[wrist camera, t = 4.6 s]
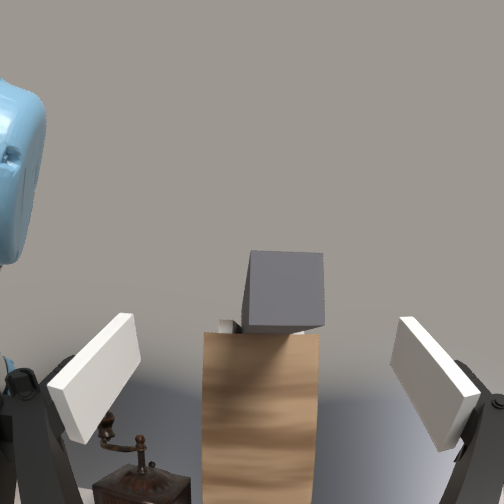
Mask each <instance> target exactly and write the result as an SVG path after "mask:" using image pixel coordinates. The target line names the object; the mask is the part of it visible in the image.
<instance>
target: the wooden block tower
mask: <svg viewBox="0 0 504 504" xmlns="http://www.w3.org/2000/svg"><path fill="white" fill-rule="evenodd" d="M241 330H242V327H241V326H239V325H238V324H237V323H236V322H235V321H233V320H219V333H205V332H204V347H203V381H202V495H203V504H311V496H312V486H313V473H314V460H315V446H316V427H317V404H318V370H319V368H318V367H319V334H304V331H302V332H298V333H294V334H241Z"/></svg>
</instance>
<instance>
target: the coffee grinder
mask: <svg viewBox="0 0 504 504" xmlns="http://www.w3.org/2000/svg"><path fill="white" fill-rule="evenodd" d="M114 420H115V416H114V414H113V412H112V411H110V410H108V411H107V413H106V414H105V416H104V417H103V419H102V420H101V422H100V423H99V425H98V426H97V428H98V430H99V434H98V437H99V438H101V441H100V444H101V447H102V448H103V449H107V450H111V451H119V452H132V451H137V452H138V465H137V466H135V465H131V464H127V465H125V466H123V467H121V468H120V469H118V470H116V471H114V472H113V473H111V474H109V475H108V476H106V477H104V478H102V479H101V480H99V481H98V482H96V483H95V484H93V485H92V489H93V495H94V501H95V504H191V483H190V481H191V479H190V477H186V476H180V475H175V474H171V473H169V472H167V471H164V470H161V469H157V468H154V467H155V463H154V462H152V461H151V462H150V463H149V467H147V466H145V454H144V450H146V449H147V447H146V445H145V444H144V442H145V438H144V436H143V435H137V436H136V438H135V440H136V442H137V444H136V445H135V446H129V447H128V446H117V445H110V444H107V441H109V440H110V439H111V438H112V437H114V436H115V433H114V432H113V430H112V425H113V422H114Z"/></svg>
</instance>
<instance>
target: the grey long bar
mask: <svg viewBox="0 0 504 504" xmlns="http://www.w3.org/2000/svg"><path fill="white" fill-rule="evenodd" d="M324 314H325V313H324V271H323V253H306V252H280V251H251V252H250V259H249V265H248V272H247V278H246V284H245V291H244V297H243V304H242V310H241V327H242V330H241V334H294V333H298V332H302V331H306V330H309V329H313V328H317V327H321V326H324V325H325V316H324Z"/></svg>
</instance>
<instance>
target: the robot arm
mask: <svg viewBox="0 0 504 504" xmlns="http://www.w3.org/2000/svg"><path fill="white" fill-rule="evenodd" d="M45 133H46V112H45V108H44V105H43V103H42V101H41V100H40V98H39V97H38V96H36V95H35V94H34V93H32V92H29V91H27V90H24V89H21V88H19V87H16V86H13V85H10V84H8V83H7V82H6V81H4V80H3V79H2V78H0V271H1V269H2V267H3V265H4V264H6V265H7V264H12V263H14V262H16V261H17V260H18V258H19V257H20V255H21V253H22V250H23V246H24V243H25V239H26V235H27V230H28V225H29V221H30V216H31V211H32V206H33V199H34V191H35V188H36V184H37V180H38V175H39V169H40V164H41V158H42V152H43V147H44V140H45ZM140 361H141V357H140V352H139V347H138V341H137V335H136V329H135V323H134V316H133V314H128V313H119V314H118V316H116V317H115V318H114V319H113V320H112V321H111V322H110V323H109V324H108V325H107V326H106V327H105V328H104V329H103V330H101V331H100V332H99V333H98V334H97V335H96V336H95V337H94V338H93V339H92V340H91V341H90V342H89V343H88V344H87V345H86V346H85V347H84V348H83V349H82V350H81V351H80V352H79V353H78V354H77V355H72V356H70V357H68V358H66V359H64V360H63V361H62V362H61V363H60V364H59V365H58V367H56V368H55V369H54V370H53V372H51V373H50V374H49V375H48V376H47V377H46V378H45V379H44V380H43V381H42V382H41V383H40V384H39V385H38V382H37V380H36V377H35V374H34V372H33V371H32V370H31V369H28V368H19V369H15V367H14V362H13V361H12V360H11V359H9V358H6V357H5V356H2V355H1V353H0V504H14V499H15V489H16V481H18V487H19V493H20V499H21V504H83V501H82V498H81V496H80V493H79V490H78V487H77V484H76V481H75V478H74V475H73V472H72V469H71V466H70V463H69V459H68V455H67V452H66V448H65V444H64V441H63V439H62V437H61V434H62V433H63V432H64V430H66V432H67V434H68V436H69V438H70V440H73V441H76V442H79V443H82V444H87V442H88V440H89V439H90V437H91V436H92V434H93V433H94V431H95V429H96V428H97V426H98V425H99V423H100V422H101V420H102V419H103V417H104V416H105V414H106V413H107V411H108V410H109V408H110V406H111V405H112V403H113V402H114V400H115V399H116V397H117V396H118V394H119V393H120V391H121V389H122V388H123V386H124V385H125V384H126V382H127V381H128V379H129V378H130V376H131V375H132V373H133V372H134V370H135V369H136V367H137V366H138V364H139V363H140ZM390 365H391V367H392V369H393V370H394V372H395V374H396V375H397V377H398V379H399V381H400V383H401V384H402V386H403V388H404V390H405V391H406V393H407V395H408V397H409V398H410V400H411V402H412V404H413V406H414V407H415V409H416V411H417V413H418V414H419V416H420V418H421V420H422V422H423V424H424V426H425V428H426V429H427V431H428V433H429V435H430V437H431V439H432V441H433V443H434V445H435V447H436V448H437V450H438V452H441V451H445V450H449V449H452V448H454V447H455V446H456V444H457V442H458V440H459V438H460V437H461V438H462V440H463V442H464V445H463V446H462V448H461V450H460V451H459V453H458V455H457V457H456V458H455V460H454V462H456V464H455V467H454V470H453V472H452V475H451V477H450V480H449V482H448V485H447V487H446V489H445V492H444V494H443V496H442V498H441V501H440V503H439V504H498V503H499V500H500V496H501V492H502V487H503V483H504V395H502V394H491V393H490V391H489V390H488V389H487V388H486V387H485V386H484V385H483V383H482V382H481V381H480V380H479V379H478V378H477V377H476V375H475V374H474V373H472V371H471V370H470V369H469V368H468V367H467V365H465V364H463V363H462V362H460V361H458V360H455V361H453V360H452V359H451V357H450V356H449V355H448V354H447V353H446V352H445V351H444V350H443V349H442V347H441V346H440V345H439V344H438V343H437V342H436V341H435V340H434V339H433V338H432V337H431V336H430V334H429V333H428V332H427V331H426V330H425V329H424V328H423V327H422V326H421V325H420V324H419V323H418V322H417V320H415V318H414V317H400V318H399V323H398V329H397V334H396V339H395V344H394V348H393V353H392V358H391V362H390Z"/></svg>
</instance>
